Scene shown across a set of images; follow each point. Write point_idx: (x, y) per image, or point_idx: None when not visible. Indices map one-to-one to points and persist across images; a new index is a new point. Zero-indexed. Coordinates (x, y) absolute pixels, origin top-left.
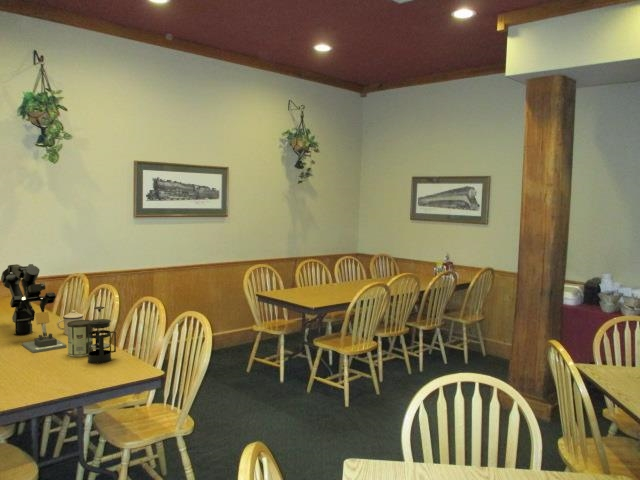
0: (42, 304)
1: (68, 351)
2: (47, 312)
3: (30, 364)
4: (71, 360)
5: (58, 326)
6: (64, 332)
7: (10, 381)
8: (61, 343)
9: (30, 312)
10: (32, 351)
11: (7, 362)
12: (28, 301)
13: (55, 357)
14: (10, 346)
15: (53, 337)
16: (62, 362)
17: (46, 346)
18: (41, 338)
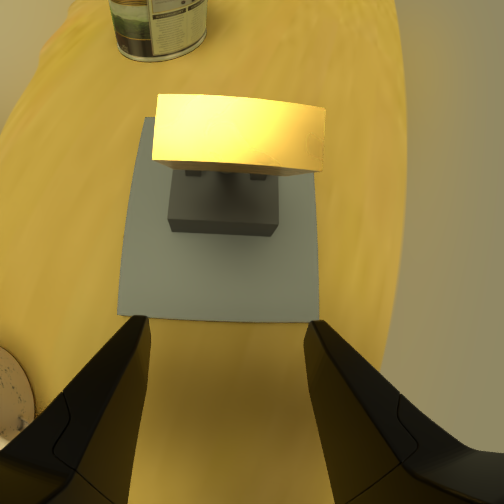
0: (84, 436)
1: (205, 25)
2: (169, 97)
3: (340, 41)
4: (225, 4)
5: None
6: (30, 410)
7: (387, 3)
8: (147, 154)
9: (343, 346)
10: None
11: (400, 101)
12: (464, 486)
13: (251, 42)
14: (365, 342)
15: None
16: (254, 5)
17: None
18: None
